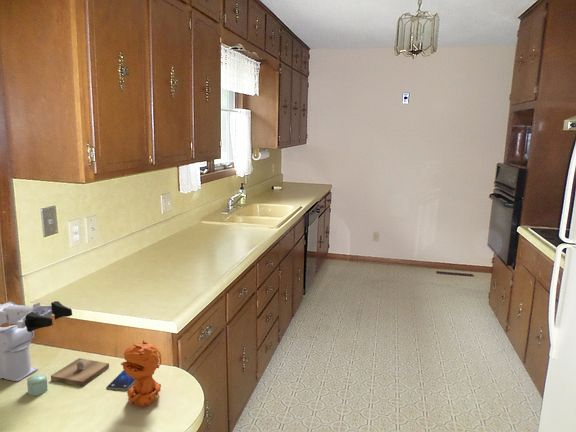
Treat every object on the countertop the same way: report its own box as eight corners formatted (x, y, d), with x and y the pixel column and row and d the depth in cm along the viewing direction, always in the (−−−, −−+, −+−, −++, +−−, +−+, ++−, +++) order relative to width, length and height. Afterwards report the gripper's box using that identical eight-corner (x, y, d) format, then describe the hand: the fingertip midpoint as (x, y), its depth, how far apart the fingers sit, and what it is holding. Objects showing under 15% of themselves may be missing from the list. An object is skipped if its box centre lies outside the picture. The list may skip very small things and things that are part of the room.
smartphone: (104, 387, 133) (129, 363, 148) (104, 390, 134) (129, 366, 148) (127, 389, 132) (150, 365, 147) (127, 392, 132) (150, 367, 147)
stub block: (51, 380, 138) (50, 367, 138) (79, 362, 150) (78, 349, 149) (82, 386, 135) (81, 372, 134) (109, 367, 146) (108, 354, 146)
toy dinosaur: (122, 394, 131) (118, 337, 128) (160, 386, 135) (157, 331, 132) (124, 415, 121) (120, 353, 118) (165, 406, 125) (162, 346, 122)
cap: (24, 393, 131) (23, 380, 130) (38, 385, 136) (37, 372, 135) (37, 396, 129) (36, 383, 129) (51, 387, 134) (50, 374, 133)
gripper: (3, 311, 130) (39, 313, 126) (43, 294, 143) (77, 296, 139) (7, 334, 131) (43, 336, 127) (46, 315, 144) (80, 317, 140)
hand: (61, 317), depth 133 cm, fingers open, 7 cm apart
